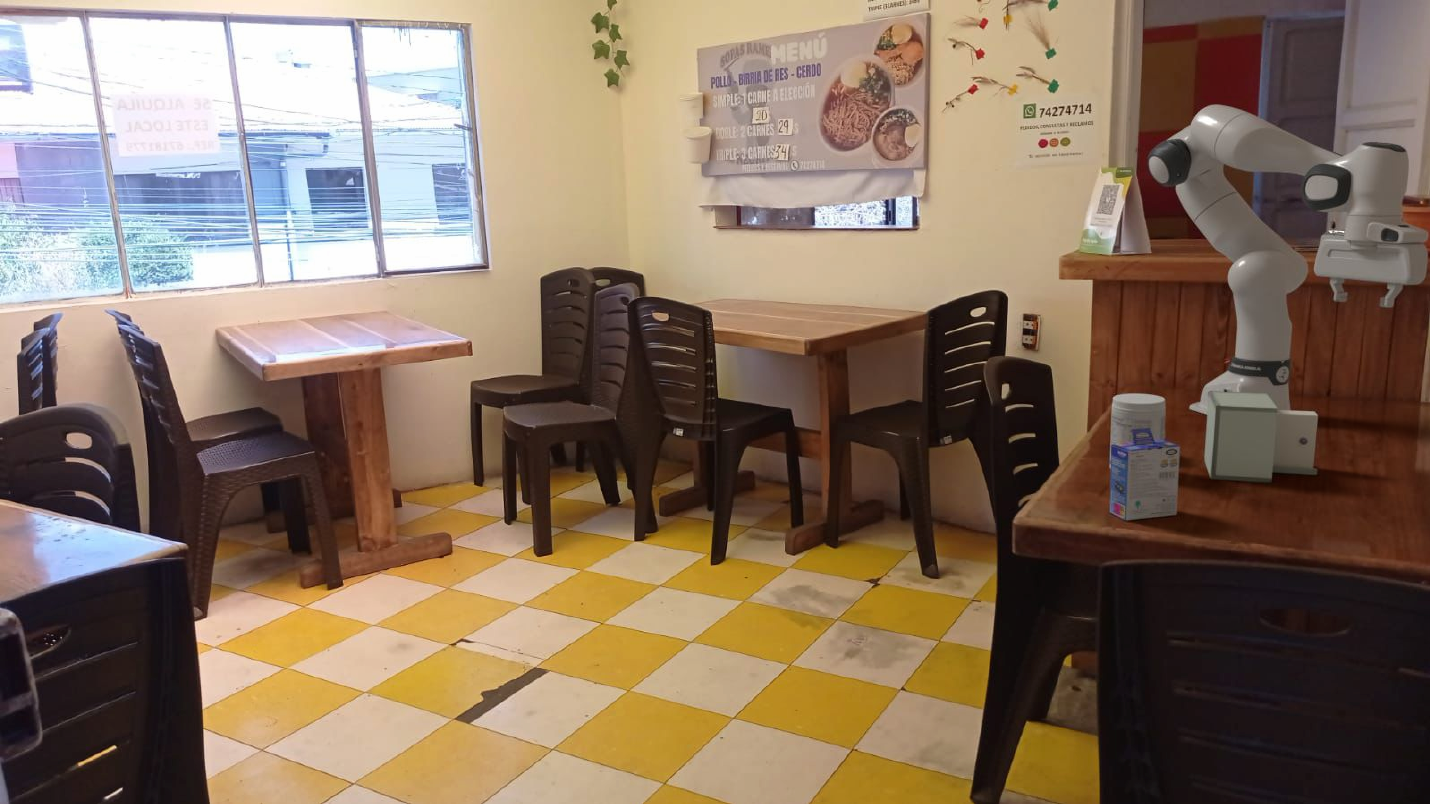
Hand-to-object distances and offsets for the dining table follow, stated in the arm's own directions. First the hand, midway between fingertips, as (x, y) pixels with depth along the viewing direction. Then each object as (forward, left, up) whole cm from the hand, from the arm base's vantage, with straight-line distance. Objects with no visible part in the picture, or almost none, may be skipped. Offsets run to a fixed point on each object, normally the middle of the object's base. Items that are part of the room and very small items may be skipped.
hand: (1362, 304), depth 188 cm
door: (0, -15, -31) cm, 34 cm away
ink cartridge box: (+9, -59, -31) cm, 68 cm away
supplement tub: (-11, -42, -31) cm, 54 cm away
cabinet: (-1, -22, -31) cm, 38 cm away
